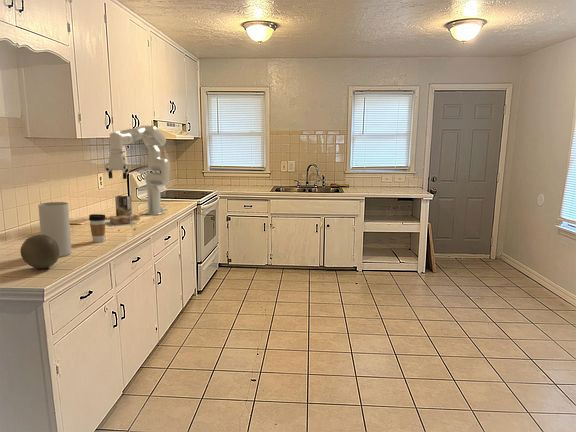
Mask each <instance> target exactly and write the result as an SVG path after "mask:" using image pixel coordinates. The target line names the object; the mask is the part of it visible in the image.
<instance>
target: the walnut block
mask: <svg viewBox="0 0 576 432" xmlns="http://www.w3.org/2000/svg"><path fill="white" fill-rule="evenodd" d="M130 220H131V219H130V217H128V216H126V215H123V216H116V215H113V216H109V222H110V223H112V224H113V225H121V224H130Z"/></svg>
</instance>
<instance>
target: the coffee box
mask: <svg viewBox="0 0 576 432" xmlns="http://www.w3.org/2000/svg"><path fill="white" fill-rule="evenodd" d="M114 201H115V216H123V215H126V216H128V217H130V214H133V211H132V209H133V207H132V196H131V195H117V196H115V199H114Z"/></svg>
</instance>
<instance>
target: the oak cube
mask: <svg viewBox="0 0 576 432" xmlns="http://www.w3.org/2000/svg"><path fill="white" fill-rule="evenodd" d="M140 218H141V216H140V214H138V213H132V214H130V220H131V221H140V220H141V219H140Z"/></svg>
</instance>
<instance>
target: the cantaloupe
mask: <svg viewBox="0 0 576 432" xmlns="http://www.w3.org/2000/svg"><path fill="white" fill-rule="evenodd" d="M59 254H60V251H59V246H58V244H57V242H56V241H55V240H54V239H53V238H51V237H49V236H47V235H41V234H36V235H32V236H30V237H28V238H26V239H25V240H24V241H23V243H22V245H21V246H20V256H21V258H22V259H23V261H24V262H25V263H26V264H27V265H28V266H30V267H32V268H34V269H39V270H43V269H48V268H50V267H52V266H53V265H55V264H56V263H57V262H58V260H59V258H60V257H59Z"/></svg>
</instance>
